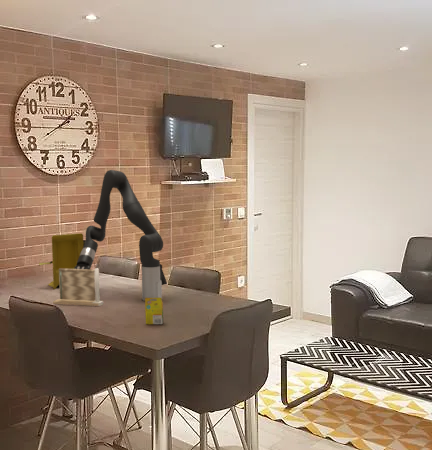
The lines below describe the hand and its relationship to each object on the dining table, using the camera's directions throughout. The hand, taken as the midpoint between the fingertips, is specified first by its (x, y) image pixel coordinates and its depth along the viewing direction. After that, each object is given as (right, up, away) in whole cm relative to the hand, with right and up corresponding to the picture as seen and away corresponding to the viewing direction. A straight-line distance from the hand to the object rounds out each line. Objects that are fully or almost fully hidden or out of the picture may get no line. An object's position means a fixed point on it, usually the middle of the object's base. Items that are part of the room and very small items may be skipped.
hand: (76, 286), depth 299 cm
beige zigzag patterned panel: (+2, -6, -5) cm, 9 cm away
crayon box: (+44, -12, -43) cm, 63 cm away
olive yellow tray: (-15, -4, +41) cm, 44 cm away
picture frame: (+2, -8, -5) cm, 10 cm away
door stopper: (+37, -3, +41) cm, 56 cm away
